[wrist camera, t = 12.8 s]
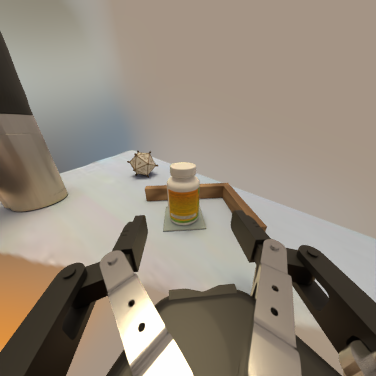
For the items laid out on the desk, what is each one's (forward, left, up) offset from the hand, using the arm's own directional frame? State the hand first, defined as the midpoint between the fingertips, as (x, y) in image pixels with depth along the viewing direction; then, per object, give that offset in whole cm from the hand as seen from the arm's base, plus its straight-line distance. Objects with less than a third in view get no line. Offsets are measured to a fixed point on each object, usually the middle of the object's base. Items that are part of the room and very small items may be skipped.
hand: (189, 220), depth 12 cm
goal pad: (0, +11, -8) cm, 13 cm away
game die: (-12, +35, -8) cm, 37 cm away
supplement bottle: (0, +10, -8) cm, 13 cm away
